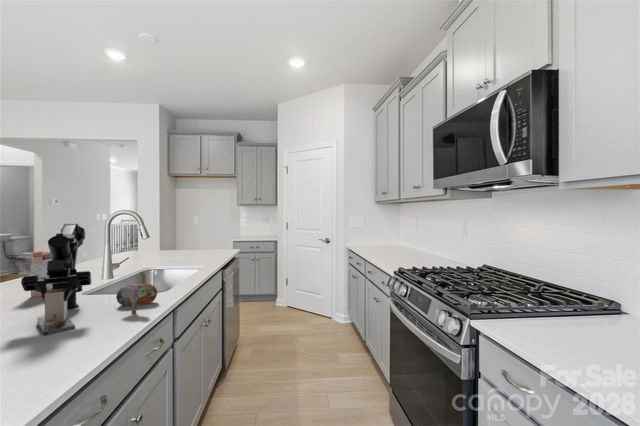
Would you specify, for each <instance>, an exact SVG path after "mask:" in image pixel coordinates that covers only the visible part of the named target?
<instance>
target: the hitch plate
mask: <svg viewBox="0 0 640 426" xmlns="http://www.w3.org/2000/svg"><path fill="white" fill-rule="evenodd" d="M36 320H37V321H36V322H37V323H36V324H37V327H38V329H39V330H40V331H41V333H42V334H43V336H49V335H51V334H57V333H61V332H65V331H70V330H74V329H76V324H75V323H74V322H72V321H71V319H70V318H69V317H68V316H67V317H66V318H65V320H64V321H56V322H49V323H45V319H43V318H42V316H40V317H37V319H36Z"/></svg>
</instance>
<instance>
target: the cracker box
mask: <svg viewBox="0 0 640 426" xmlns="http://www.w3.org/2000/svg"><path fill="white" fill-rule="evenodd" d="M30 259H31V260H30V267H31V268H30V276H32V275H38V277H44V278H49V276H47V263H48V261H52V255H51V253H50V249H45V250H43V249H42V250H37V251H36V250H35V251H32V252H31V257H30ZM46 287H47V291H48V290H52V289H53V286H52V284H47V285H46ZM30 297H31V298H32V297H34V298H36V297H37V298H43V296H42V294H41V292H37V291H36V290H33V291H30Z"/></svg>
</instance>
